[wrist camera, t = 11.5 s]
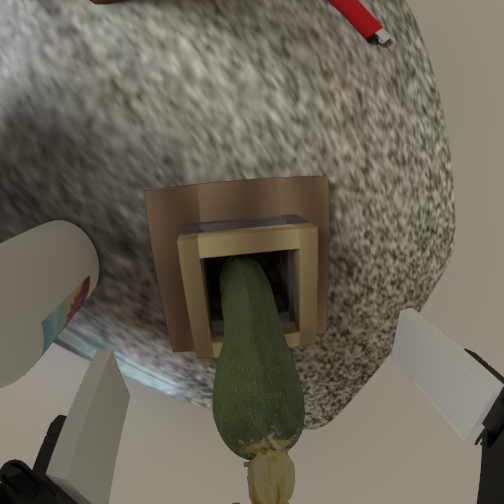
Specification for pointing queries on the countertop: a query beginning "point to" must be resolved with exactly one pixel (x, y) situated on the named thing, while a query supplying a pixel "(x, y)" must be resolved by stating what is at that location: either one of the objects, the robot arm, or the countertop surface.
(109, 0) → the pancake mix bag
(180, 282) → the collar stand
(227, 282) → the vegetable
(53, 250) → the milk bottle
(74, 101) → the countertop surface
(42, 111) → the countertop surface
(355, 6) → the lighter
